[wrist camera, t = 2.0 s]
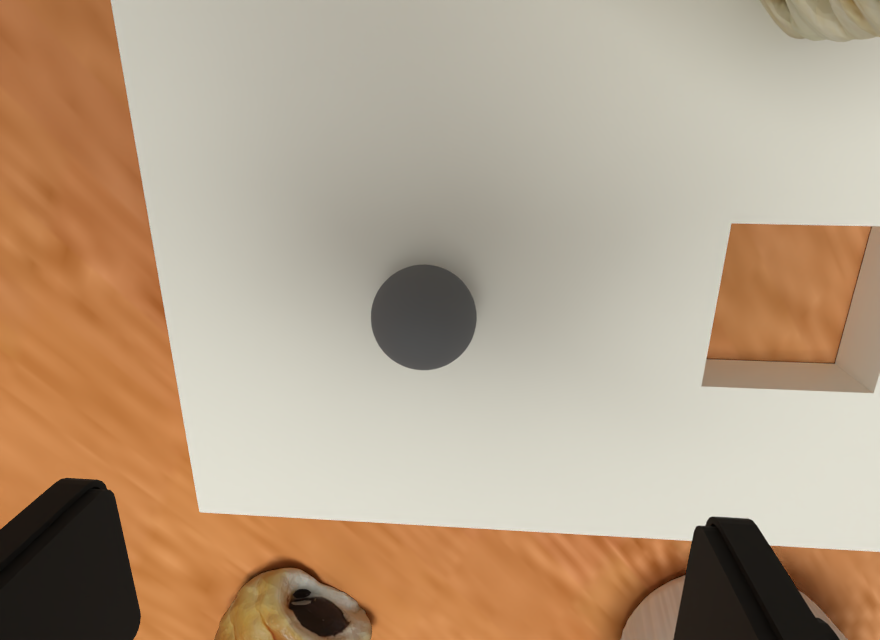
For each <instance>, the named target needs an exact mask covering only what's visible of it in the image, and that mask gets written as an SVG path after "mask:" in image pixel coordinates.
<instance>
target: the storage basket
mask: <svg viewBox="0 0 880 640" xmlns="http://www.w3.org/2000/svg"><path fill="white" fill-rule="evenodd" d="M760 2H761V3H762V5H763V6H764V8H765V9H766V11H767V12H768V13H769V15H770V16H771V18H772V19H773V21H774V22H775V23H776V24H777V25H778V26H779V27H780V28H781V29H782V30H783V31H784V32H785V33H786V34H787V35H788V36H790V37H793V38H796V39H804V38H806V39H809V40H812V41H820V40H826V39H827V40H831V41H836V42H847V41H850V40H853V39H859V40H863V39H870V38H874V37H880V0H760Z"/></svg>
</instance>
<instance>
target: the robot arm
mask: <svg viewBox="0 0 880 640" xmlns="http://www.w3.org/2000/svg"><path fill="white" fill-rule="evenodd" d="M140 618H141V615H140V609H139V604H138V599H137V595H136V590H135V586H134V581H133V577H132V572H131V568H130V563H129V559H128V554H127V550H126V545H125V540H124V536H123V531H122V527H121V522H120V518H119V513H118V509H117V504H116V500H115V496H114V494H113V492H112V491H111V490H107V488H106V485H105V484H104V483H103V482H102V481H99V480H91V479H75V478H65V479H61V480H59V481H57V482H56V483H55V484H53V485H52V486H51V487H50V488H49V489H47V490H46V491H45V492H44V493H43V494H42V495H40V496H39V497H38V498H37V499H36V500H35V501H33V502H32V503H31V504H30V505H29V506H28V507H26V508H25V509H24V510H23V511H22V512H20V513H19V514H18V515H17V516H16V517H15V518H13V519H12V520H11V521H10V522H9V523H8V524H6V525H5V526H4V527H3V528H2V529H0V640H133V639H134V637H135V636H136V634H137V631H138V629H139V625H140ZM673 640H840V639H839V638H838V636H837V635H836V633H835V632H834V631H833V629H832V628H831V627H830V626H829V625H828V623H826V622H825V621H823V620H822V619H820V618H816V617H815V616H814V614H813V613H812V611H811V610H810V608H809V606H808V605H807V603H806V602H805V600H804V599H803V597H802V595H801V594H800V592H799V591H798V589H797V588H796V586H795V585H794V583H793V581H792V580H791V578H790V577H789V575H788V574H787V572H786V570H785V569H784V567H783V566H782V564H781V563H780V561H779V559H778V558H777V556H776V555H775V553H774V552H773V550H772V548H771V547H770V545H769V544H768V542H767V541H766V539H765V537H764V536H763V534H762V533H761V531H760V530H759V528H758V526H757V525H756V524H755V523H754V521H753V520H751V519H748V518H731V517H714V516H712V517H709V519H708V520H707V522H706V525H705V526H696V528H695V530H694V533H693V539H692V544H691V549H690V554H689V560H688V565H687V570H686V575H685V581H684V586H683V591H682V597H681V602H680V607H679V612H678V618H677V623H676V628H675V633H674V639H673Z"/></svg>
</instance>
